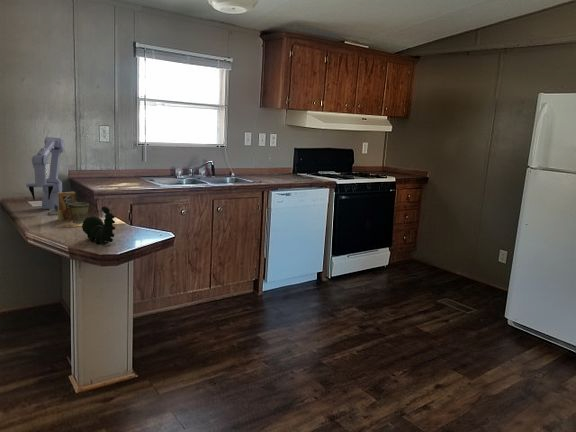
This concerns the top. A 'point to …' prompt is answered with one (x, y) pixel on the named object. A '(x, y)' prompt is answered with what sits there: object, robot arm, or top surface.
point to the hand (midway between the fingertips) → (41, 199)
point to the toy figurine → (99, 227)
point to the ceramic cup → (79, 211)
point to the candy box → (65, 204)
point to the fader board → (53, 212)
